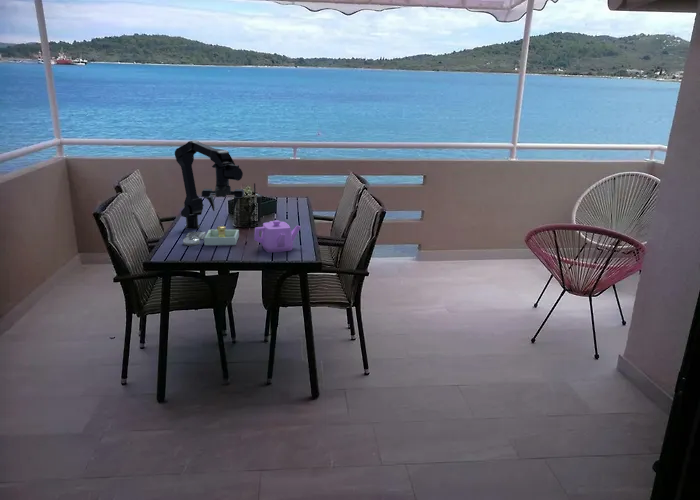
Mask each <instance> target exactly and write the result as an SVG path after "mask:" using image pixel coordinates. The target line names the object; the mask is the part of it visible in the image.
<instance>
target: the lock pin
mask: <svg viewBox="0 0 700 500" xmlns="http://www.w3.org/2000/svg"><path fill="white" fill-rule="evenodd" d="M216 230H218V235H219V237H225V230H227V227H226V225H218V226H217V227H216Z"/></svg>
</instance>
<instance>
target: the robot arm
mask: <svg viewBox="0 0 700 500" xmlns="http://www.w3.org/2000/svg"><path fill="white" fill-rule="evenodd" d="M197 153H199V154H200V155H204V156H206V157H208V158H209V160H210V161H211V162H212V163H214V164H213V165H211V167H212V168H214V169H215V180H216V181H215V182H216V183H215V189H214V190H213V189H212V188H204V189H203V190H201V197H200V196H199V195H198V194H197V193H198V192H197V188H196V184H195V183H196V181H195V177H194V171H193V163H194V160H195V156H194V155H196V154H197ZM174 157H175V161H176V162H177V164H178V165H179V166H180V169H181V173H182V179H183V183H184V184H183V185H184V189H185V195H186V196H185V198H184V199H185V200H184V202H183V203H184V208H183V209H182V210H181V211H180V215H181V217H182V218H185V224H186V225H185V226H184V230H199V228H200V227H201V225H200V224H199V216H200V215H201V216H202V214H203V213H202V212H203V210H204V203H203V198H204V199H207V201H208V202H209V205H210V206H211V209H212V211H213V212H215V209H216V208H215V198H214V196H215V197H216V198H219V197H220V198H221V197H222V198H226V197H227V196H234V197H233V205H232V206H233V207H232V209H233V210H232V211H233V212H235V210H236V207H237V204H238V201H239V200H240V199H241V198H243V197H244V196H245V190H244V189H242V188H241V189H240V188H239V189H238V188H237V189H236V188H235V189H234V190H232V188H231V185H230V180H232V181H237V182H238V181H241V180H242V178H243V174H244V173H243V170H242V168H240V165H239V164H236V163H235V162H234V161H235V160H233V158H232V156H231V154H230V151H229V150H227V149H223V148H222V149H220V148H214V147H211V146H209V145H207V144H204V143H202V142H200V141H198V140H197V139H196V140H189V141H187V142H186V143H184V144H183V145H181V146H179V147H177V148H176V149H175V151H174Z"/></svg>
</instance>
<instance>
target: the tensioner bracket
mask: <svg viewBox="0 0 700 500" xmlns="http://www.w3.org/2000/svg"><path fill="white" fill-rule="evenodd" d="M206 234H207V233H206V231H188V233H187V234H186V236H185V238H183V239H182V241H183V242H182V243H183V244H182V245H184V246H187V247H188V246H189V247H194V246H198V245H200V240H203V241H204V237H205V236H206Z"/></svg>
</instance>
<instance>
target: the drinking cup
mask: <svg viewBox="0 0 700 500" xmlns="http://www.w3.org/2000/svg"><path fill="white" fill-rule="evenodd" d="M256 192H257V191H256V183H253V193H255V194H256V195H257V203H258V222H261V217H262V216H261V213H262V201H263V200H262V198H263V195H262V194H260V193H258V192H257V193H256Z"/></svg>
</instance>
